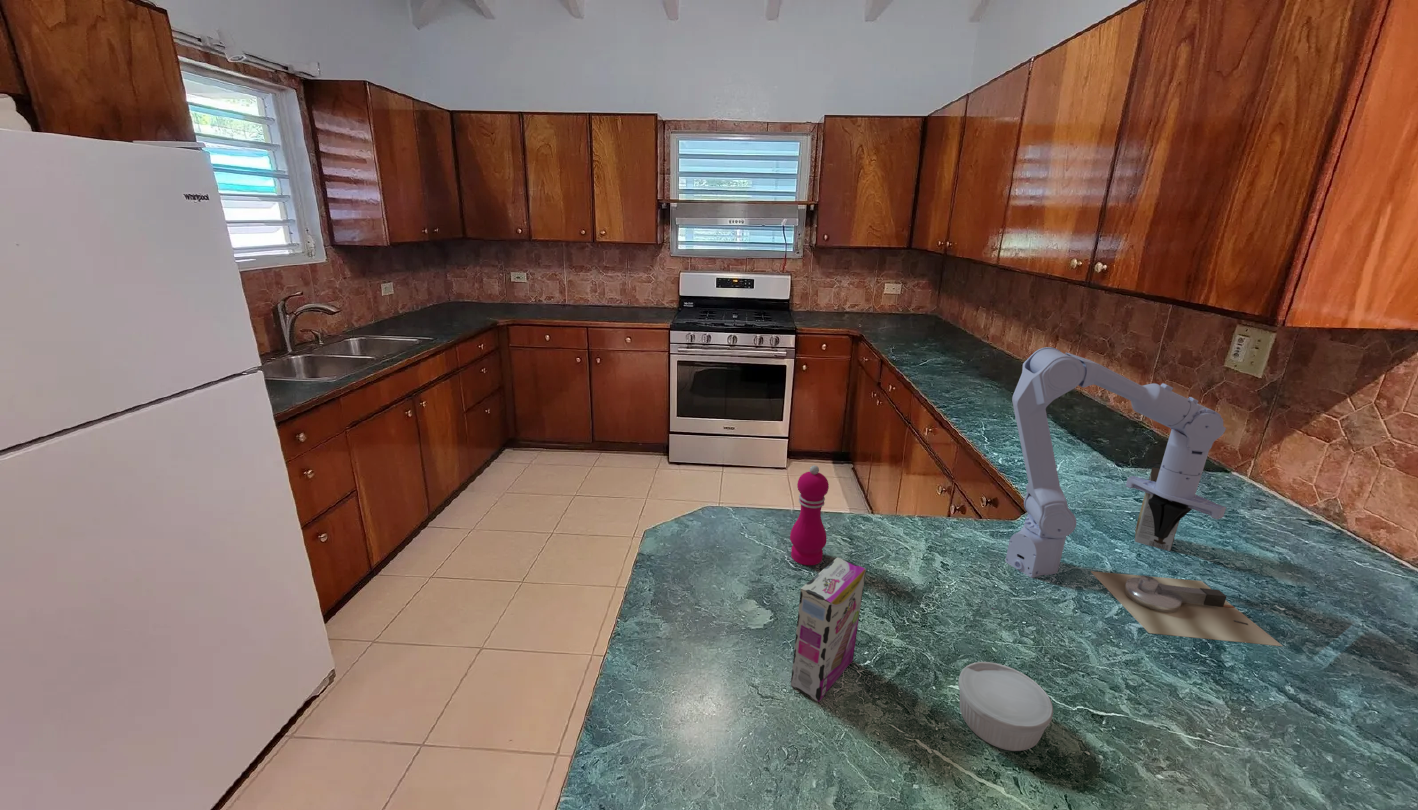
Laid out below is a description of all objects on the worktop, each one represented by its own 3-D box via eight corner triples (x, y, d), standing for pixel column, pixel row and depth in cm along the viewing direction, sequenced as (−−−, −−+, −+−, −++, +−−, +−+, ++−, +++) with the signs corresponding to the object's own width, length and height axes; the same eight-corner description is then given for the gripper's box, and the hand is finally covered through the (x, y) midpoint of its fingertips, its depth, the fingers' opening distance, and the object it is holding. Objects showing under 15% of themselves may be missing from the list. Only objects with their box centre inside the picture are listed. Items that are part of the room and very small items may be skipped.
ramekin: (1015, 690, 80) (1022, 660, 79) (1065, 760, 69) (1074, 726, 68) (939, 690, 80) (944, 660, 78) (977, 760, 69) (985, 727, 68)
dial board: (1147, 639, 92) (1149, 632, 91) (1089, 576, 109) (1090, 570, 108) (1280, 652, 89) (1283, 645, 89) (1199, 586, 107) (1201, 580, 106)
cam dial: (1139, 609, 97) (1145, 590, 96) (1115, 582, 104) (1120, 565, 103) (1235, 620, 95) (1241, 601, 94) (1203, 592, 102) (1208, 574, 101)
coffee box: (1133, 530, 127) (1151, 465, 123) (1169, 539, 124) (1188, 473, 119) (1132, 546, 120) (1151, 478, 116) (1170, 557, 117) (1191, 487, 112)
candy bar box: (820, 705, 76) (831, 603, 72) (789, 687, 79) (797, 588, 75) (855, 661, 85) (867, 567, 80) (826, 646, 88) (836, 554, 83)
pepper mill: (824, 569, 108) (834, 475, 103) (787, 564, 110) (794, 471, 104) (824, 550, 115) (833, 460, 109) (789, 545, 116) (796, 457, 111)
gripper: (1242, 481, 96) (1218, 550, 100) (1147, 452, 108) (1129, 515, 112) (1223, 488, 92) (1199, 559, 96) (1127, 457, 105) (1110, 522, 109)
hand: (1160, 536), depth 104 cm, fingers closed
